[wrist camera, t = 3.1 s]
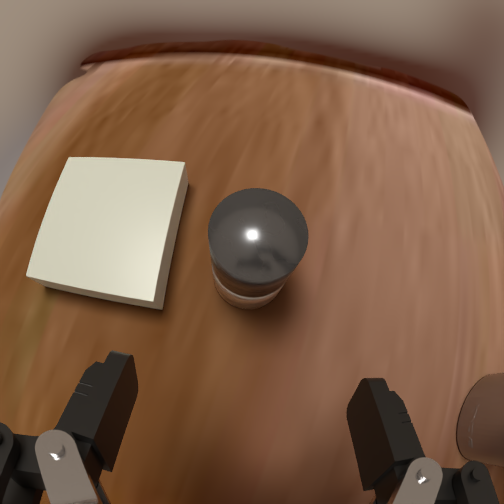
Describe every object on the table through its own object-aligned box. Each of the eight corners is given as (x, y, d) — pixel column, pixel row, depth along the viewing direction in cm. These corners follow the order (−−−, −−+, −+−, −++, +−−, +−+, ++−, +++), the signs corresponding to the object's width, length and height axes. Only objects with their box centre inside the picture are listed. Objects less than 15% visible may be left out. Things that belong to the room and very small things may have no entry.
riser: (188, 183, 26) (184, 162, 23) (162, 309, 22) (153, 301, 19) (80, 175, 25) (69, 157, 22) (44, 286, 21) (25, 275, 18)
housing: (284, 247, 24) (309, 195, 17) (279, 313, 22) (306, 285, 15) (218, 239, 24) (216, 183, 17) (209, 304, 22) (200, 272, 15)
